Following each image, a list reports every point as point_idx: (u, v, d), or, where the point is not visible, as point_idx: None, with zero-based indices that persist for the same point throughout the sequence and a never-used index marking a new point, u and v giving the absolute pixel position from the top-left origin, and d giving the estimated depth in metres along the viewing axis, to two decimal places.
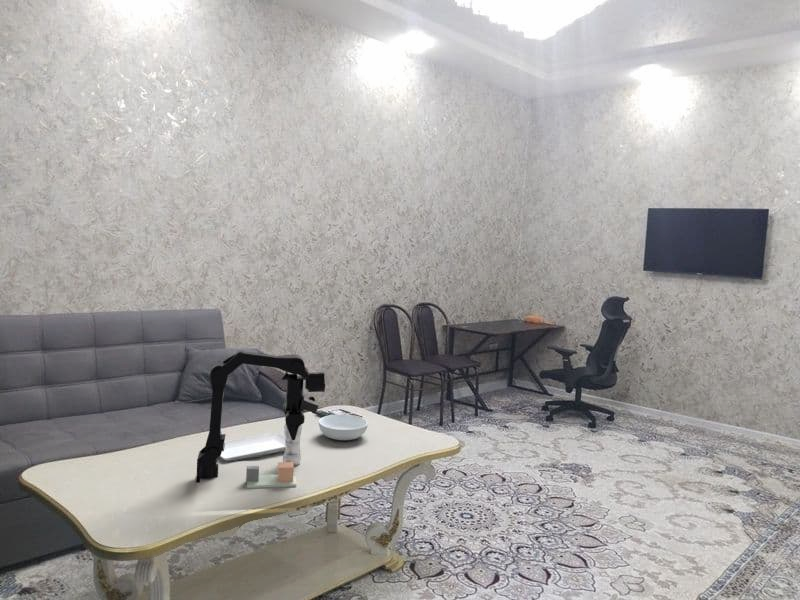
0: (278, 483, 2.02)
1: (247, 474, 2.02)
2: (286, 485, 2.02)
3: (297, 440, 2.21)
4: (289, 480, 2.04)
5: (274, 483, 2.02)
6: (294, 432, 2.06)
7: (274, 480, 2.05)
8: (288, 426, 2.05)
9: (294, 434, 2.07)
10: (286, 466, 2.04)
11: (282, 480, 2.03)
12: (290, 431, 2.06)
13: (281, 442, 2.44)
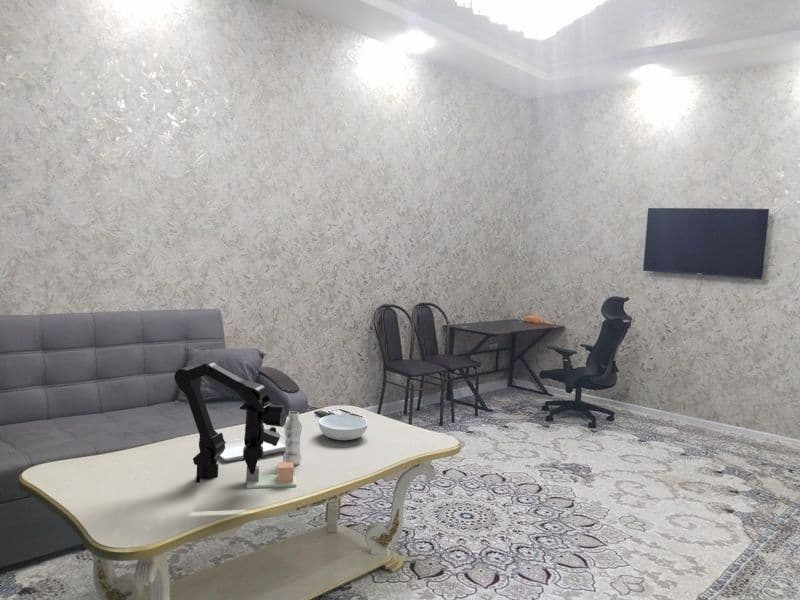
0: (278, 483, 2.02)
1: (247, 474, 2.02)
2: (286, 485, 2.02)
3: (297, 440, 2.21)
4: (289, 480, 2.04)
5: (274, 483, 2.02)
6: (253, 466, 1.97)
7: (274, 480, 2.05)
8: (246, 460, 1.96)
9: (253, 468, 1.98)
10: (286, 466, 2.04)
11: (282, 480, 2.03)
12: (248, 465, 1.97)
13: (281, 442, 2.44)
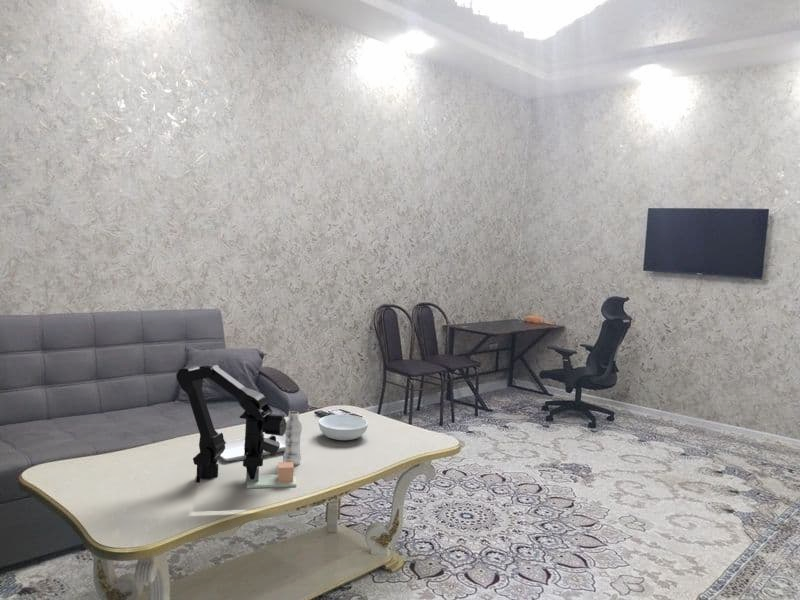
0: (278, 483, 2.02)
1: (247, 474, 2.02)
2: (286, 485, 2.02)
3: (297, 440, 2.21)
4: (289, 480, 2.04)
5: (274, 483, 2.02)
6: (253, 471, 2.01)
7: (274, 480, 2.05)
8: None
9: (253, 473, 2.01)
10: (286, 466, 2.04)
11: (282, 480, 2.03)
12: (249, 470, 2.00)
13: (281, 442, 2.44)
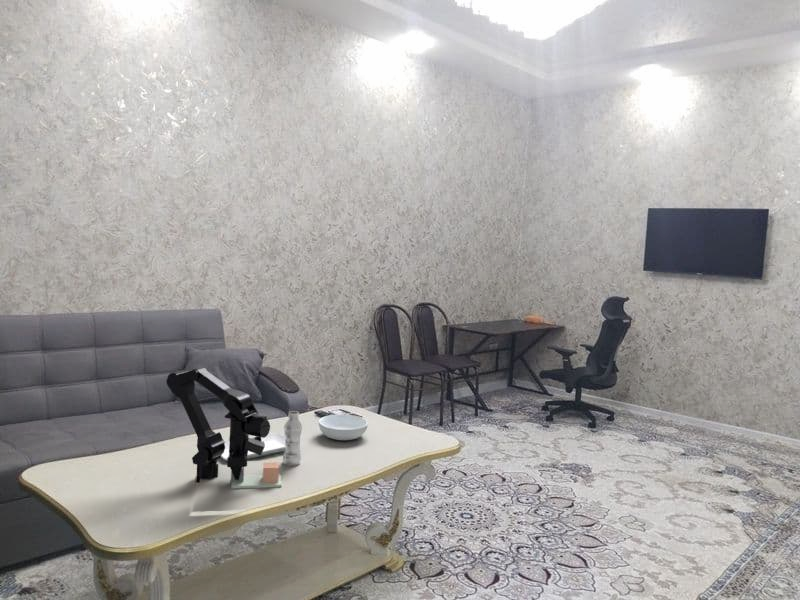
0: (263, 484, 2.01)
1: (232, 474, 2.01)
2: (271, 485, 2.01)
3: (297, 440, 2.21)
4: (274, 480, 2.03)
5: (259, 483, 2.01)
6: (237, 472, 2.00)
7: (259, 480, 2.03)
8: None
9: (237, 474, 2.00)
10: (271, 466, 2.03)
11: (268, 480, 2.02)
12: (233, 471, 1.99)
13: (281, 442, 2.44)
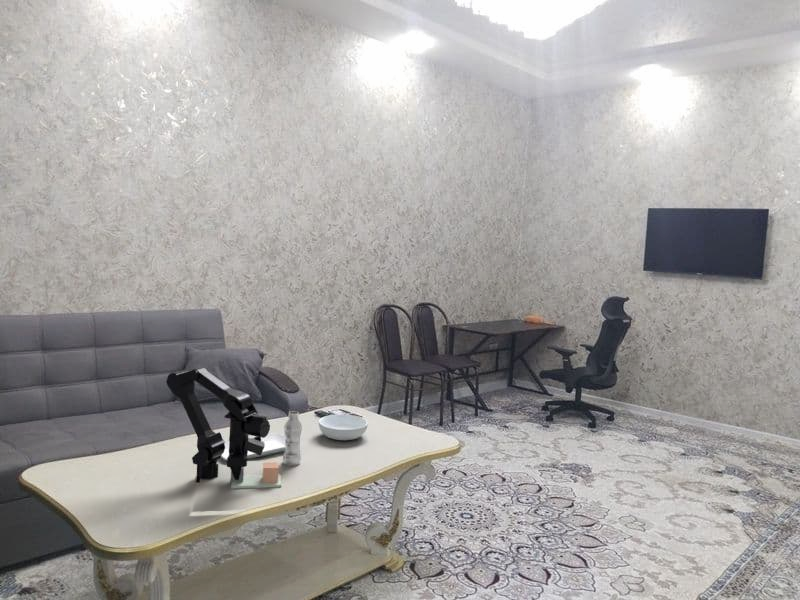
0: (263, 484, 2.01)
1: (232, 474, 2.01)
2: (271, 486, 2.01)
3: (297, 440, 2.21)
4: (274, 480, 2.03)
5: (259, 483, 2.01)
6: (237, 472, 2.00)
7: (259, 480, 2.03)
8: None
9: (237, 474, 2.00)
10: (271, 466, 2.03)
11: (267, 480, 2.02)
12: (233, 471, 1.99)
13: (281, 442, 2.44)
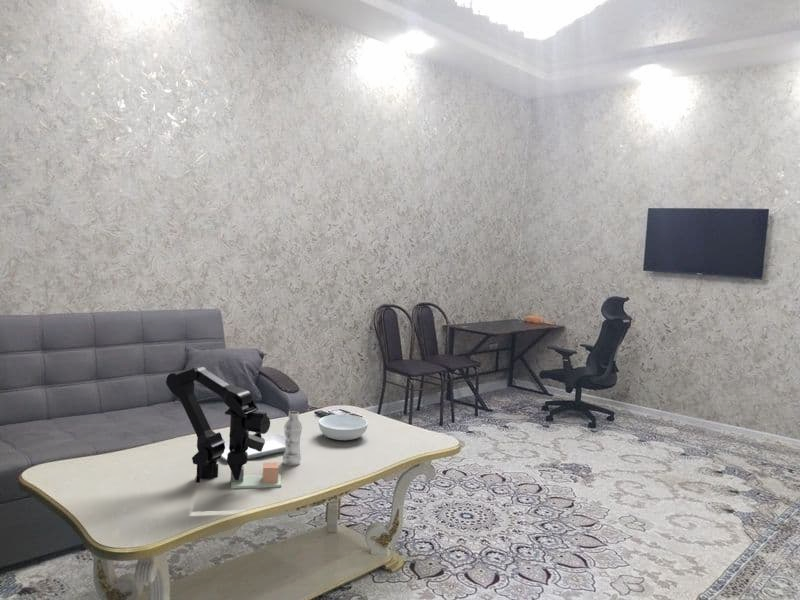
0: (263, 484, 2.01)
1: (232, 474, 2.01)
2: (271, 486, 2.01)
3: (297, 440, 2.21)
4: (274, 480, 2.03)
5: (259, 483, 2.01)
6: (237, 472, 1.96)
7: (259, 480, 2.03)
8: (230, 466, 1.95)
9: (237, 474, 1.97)
10: (271, 466, 2.03)
11: (267, 480, 2.02)
12: (233, 471, 1.96)
13: (281, 442, 2.44)
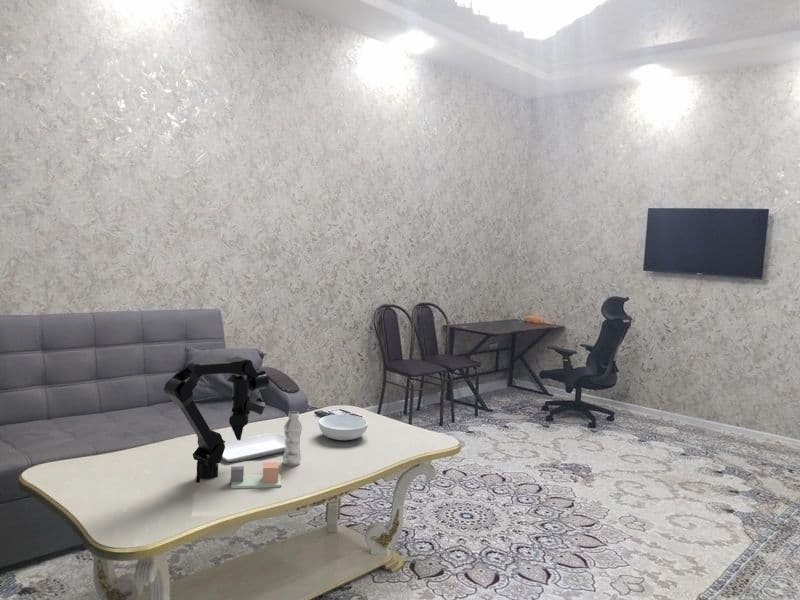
0: (263, 484, 2.01)
1: (232, 474, 2.01)
2: (271, 486, 2.01)
3: (297, 440, 2.21)
4: (274, 480, 2.03)
5: (259, 483, 2.01)
6: (239, 432, 2.11)
7: (259, 480, 2.03)
8: (233, 427, 2.09)
9: (239, 434, 2.11)
10: (271, 466, 2.03)
11: (267, 480, 2.02)
12: (235, 431, 2.10)
13: (281, 442, 2.44)
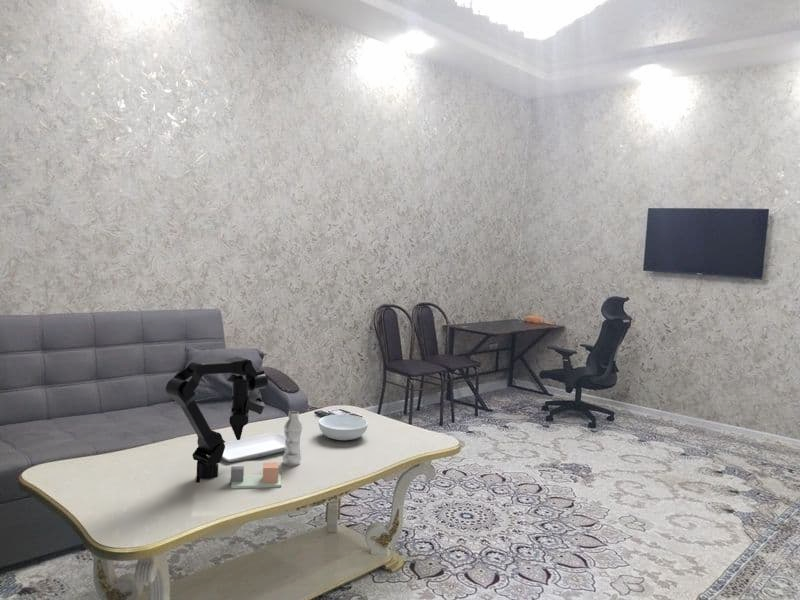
0: (263, 484, 2.01)
1: (232, 474, 2.01)
2: (271, 486, 2.01)
3: (297, 440, 2.21)
4: (274, 480, 2.03)
5: (259, 483, 2.01)
6: (239, 432, 2.11)
7: (259, 480, 2.03)
8: (232, 426, 2.10)
9: (239, 434, 2.11)
10: (271, 466, 2.03)
11: (267, 480, 2.02)
12: (235, 431, 2.11)
13: (281, 442, 2.44)
